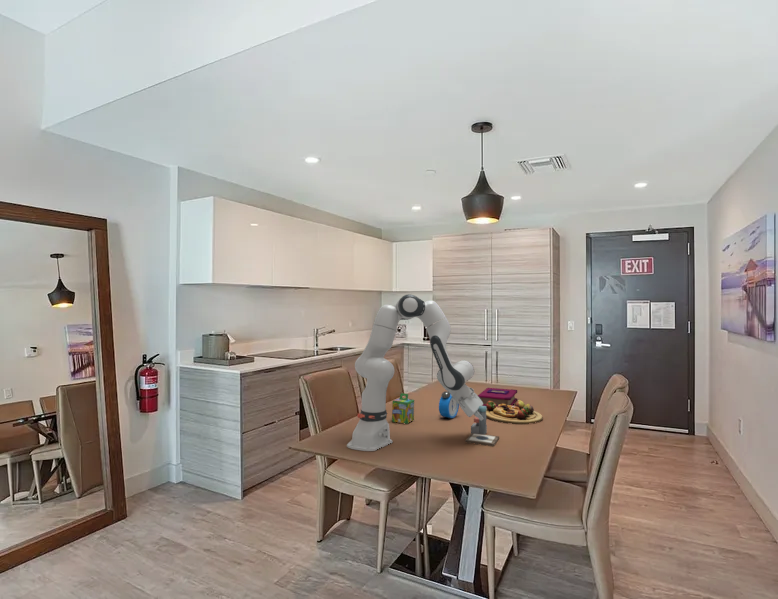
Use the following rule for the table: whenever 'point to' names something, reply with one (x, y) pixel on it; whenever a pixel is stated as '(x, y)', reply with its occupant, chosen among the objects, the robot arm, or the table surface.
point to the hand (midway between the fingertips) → (483, 418)
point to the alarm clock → (448, 405)
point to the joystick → (482, 423)
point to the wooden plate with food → (512, 413)
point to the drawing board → (482, 439)
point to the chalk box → (403, 409)
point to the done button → (476, 421)
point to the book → (498, 396)
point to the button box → (476, 429)
